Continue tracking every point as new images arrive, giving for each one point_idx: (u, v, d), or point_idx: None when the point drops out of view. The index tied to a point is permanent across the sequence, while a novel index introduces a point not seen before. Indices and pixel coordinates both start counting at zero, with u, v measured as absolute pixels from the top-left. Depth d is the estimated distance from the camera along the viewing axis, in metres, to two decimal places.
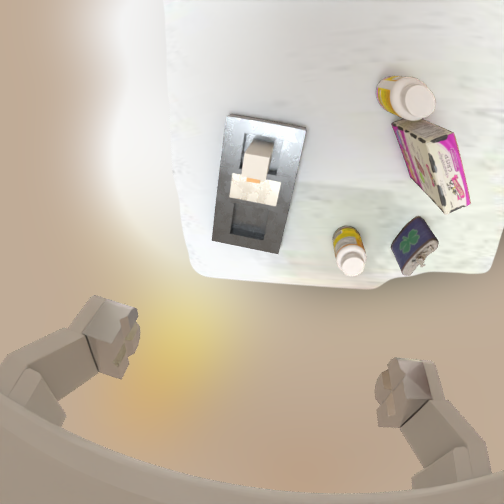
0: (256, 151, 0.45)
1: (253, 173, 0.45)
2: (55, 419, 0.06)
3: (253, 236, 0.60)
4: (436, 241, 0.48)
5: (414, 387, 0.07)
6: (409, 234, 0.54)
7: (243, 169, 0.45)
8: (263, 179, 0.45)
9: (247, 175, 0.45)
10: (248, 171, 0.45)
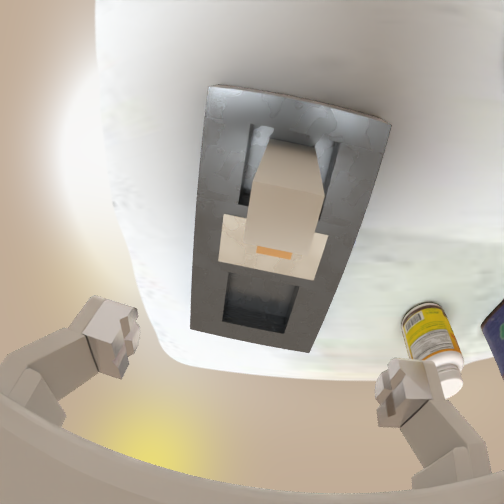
0: (284, 173, 0.17)
1: (276, 236, 0.17)
2: (55, 419, 0.06)
3: (265, 325, 0.32)
4: None
5: (414, 387, 0.07)
6: None
7: (249, 225, 0.17)
8: (303, 252, 0.17)
9: (260, 241, 0.17)
10: (263, 230, 0.17)
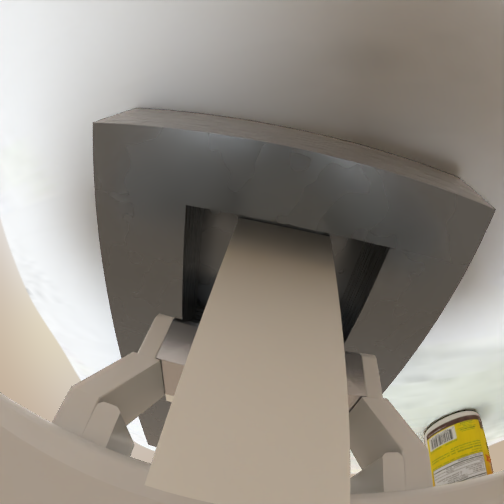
0: (245, 415, 0.06)
1: None
2: (126, 450, 0.06)
3: None
4: None
5: None
6: None
7: None
8: None
9: None
10: None
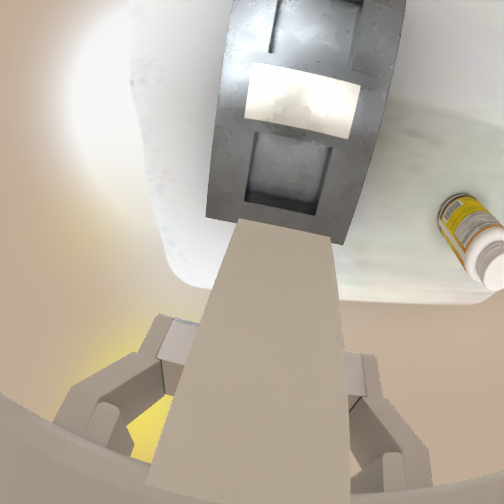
0: (245, 416, 0.06)
1: None
2: (126, 450, 0.06)
3: (293, 207, 0.28)
4: None
5: None
6: None
7: None
8: None
9: None
10: None
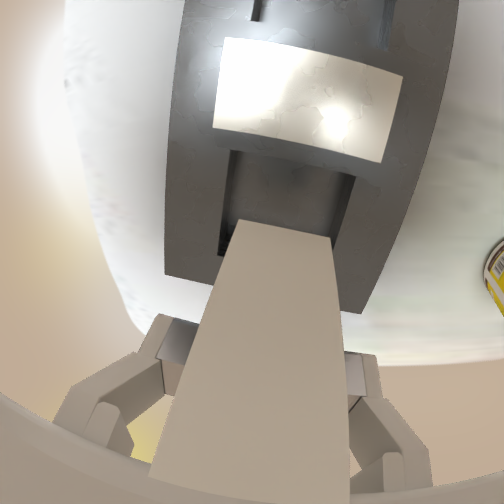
0: (245, 416, 0.06)
1: None
2: (126, 450, 0.06)
3: None
4: None
5: None
6: None
7: None
8: None
9: None
10: None
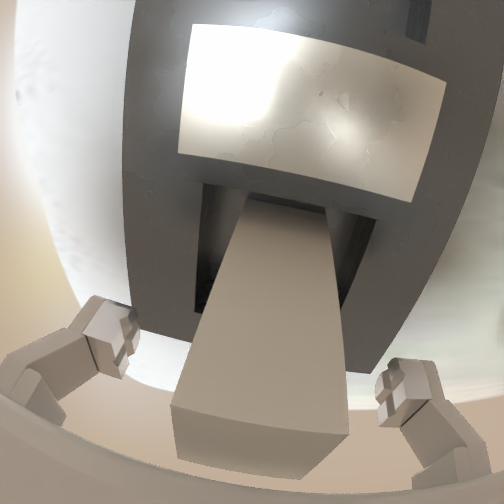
0: (257, 342, 0.07)
1: (240, 464, 0.07)
2: (55, 419, 0.06)
3: None
4: None
5: (414, 387, 0.07)
6: None
7: (183, 448, 0.07)
8: (291, 477, 0.07)
9: (209, 463, 0.07)
10: (212, 457, 0.07)
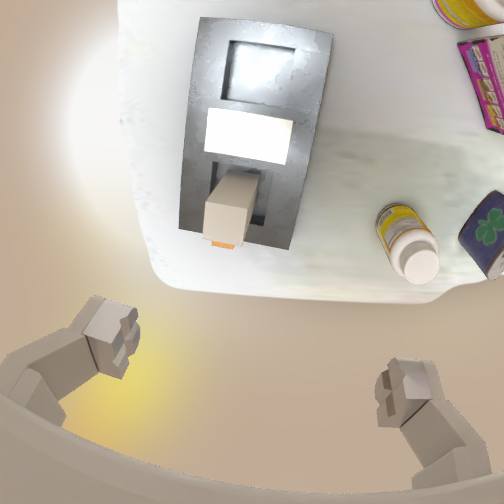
0: (227, 195, 0.28)
1: (222, 234, 0.28)
2: (55, 419, 0.06)
3: None
4: None
5: (414, 387, 0.07)
6: (488, 215, 0.30)
7: (205, 227, 0.27)
8: (238, 243, 0.28)
9: (212, 237, 0.28)
10: (213, 231, 0.27)
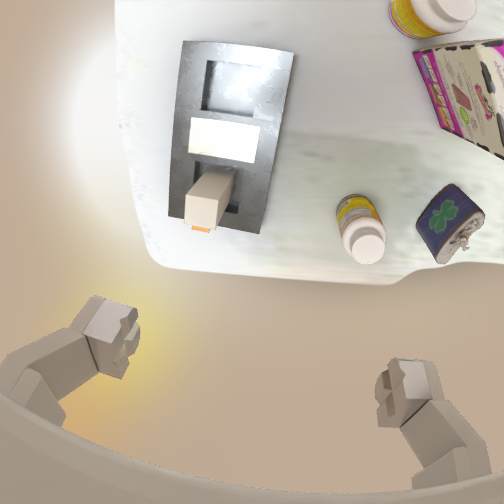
0: (204, 189, 0.35)
1: (199, 220, 0.34)
2: (55, 419, 0.06)
3: None
4: (482, 214, 0.30)
5: (414, 387, 0.07)
6: (442, 206, 0.37)
7: (186, 215, 0.34)
8: (212, 228, 0.35)
9: (191, 222, 0.35)
10: (192, 217, 0.34)
